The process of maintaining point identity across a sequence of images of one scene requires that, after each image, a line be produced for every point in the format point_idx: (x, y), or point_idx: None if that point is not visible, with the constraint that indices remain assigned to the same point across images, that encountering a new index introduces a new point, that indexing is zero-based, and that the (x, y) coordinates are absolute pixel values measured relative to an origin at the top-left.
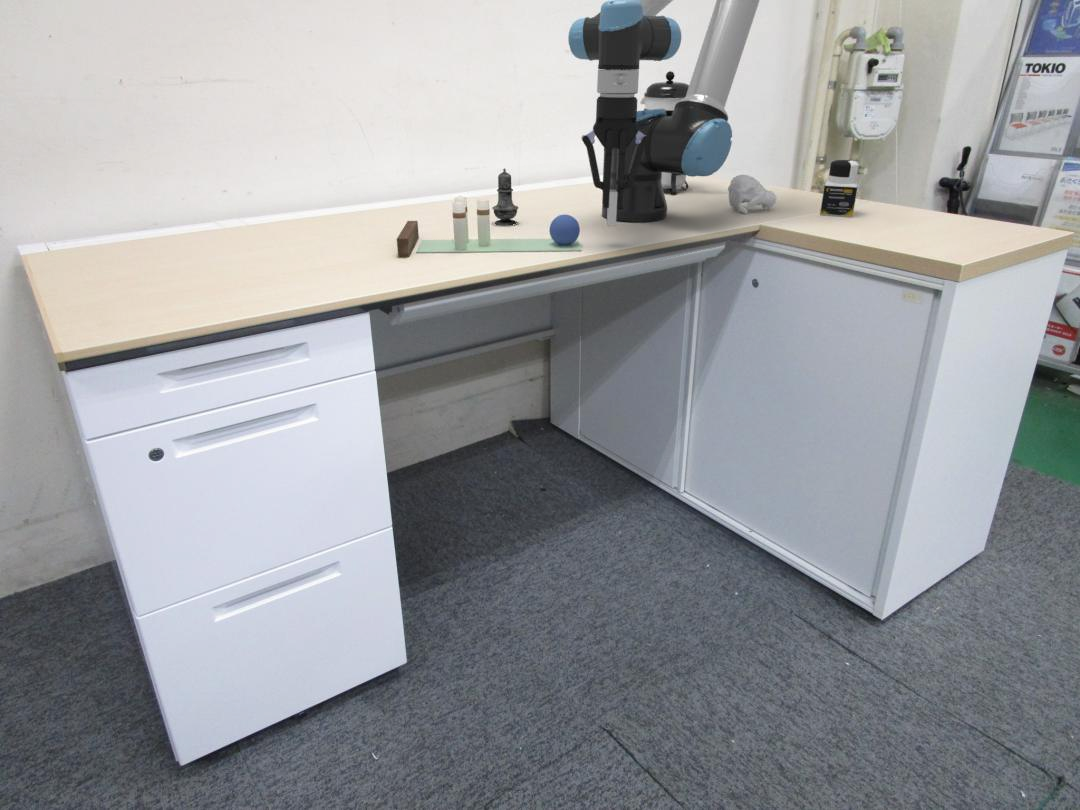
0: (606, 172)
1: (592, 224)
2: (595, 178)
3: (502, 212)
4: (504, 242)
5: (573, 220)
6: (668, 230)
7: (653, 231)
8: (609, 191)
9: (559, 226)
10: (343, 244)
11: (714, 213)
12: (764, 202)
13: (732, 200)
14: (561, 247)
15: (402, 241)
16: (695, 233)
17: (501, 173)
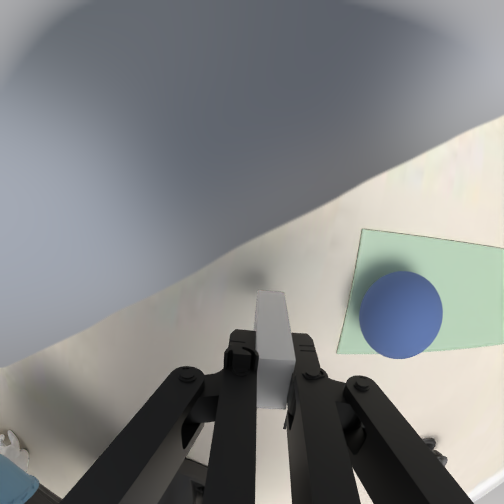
0: (332, 432)
1: (262, 455)
2: (383, 404)
3: (437, 455)
4: (484, 320)
5: (397, 311)
6: (105, 390)
7: (136, 391)
8: (293, 372)
9: (433, 288)
10: None
11: (46, 451)
12: None
13: (21, 458)
14: (403, 264)
15: None
16: (55, 353)
17: None
